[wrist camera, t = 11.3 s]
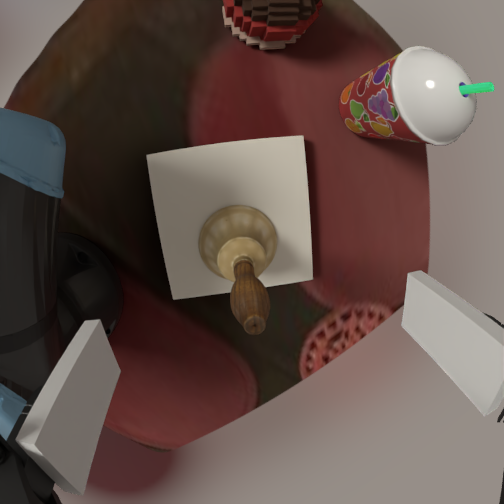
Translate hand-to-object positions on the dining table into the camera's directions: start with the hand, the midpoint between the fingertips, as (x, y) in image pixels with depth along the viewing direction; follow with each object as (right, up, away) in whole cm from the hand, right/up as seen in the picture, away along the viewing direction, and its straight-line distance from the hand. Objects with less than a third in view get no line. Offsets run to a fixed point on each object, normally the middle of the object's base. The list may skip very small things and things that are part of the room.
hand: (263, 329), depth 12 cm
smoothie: (+12, +20, +19) cm, 30 cm away
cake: (+1, +29, +15) cm, 33 cm away
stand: (-2, +7, +21) cm, 23 cm away
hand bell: (-2, +4, +20) cm, 21 cm away
